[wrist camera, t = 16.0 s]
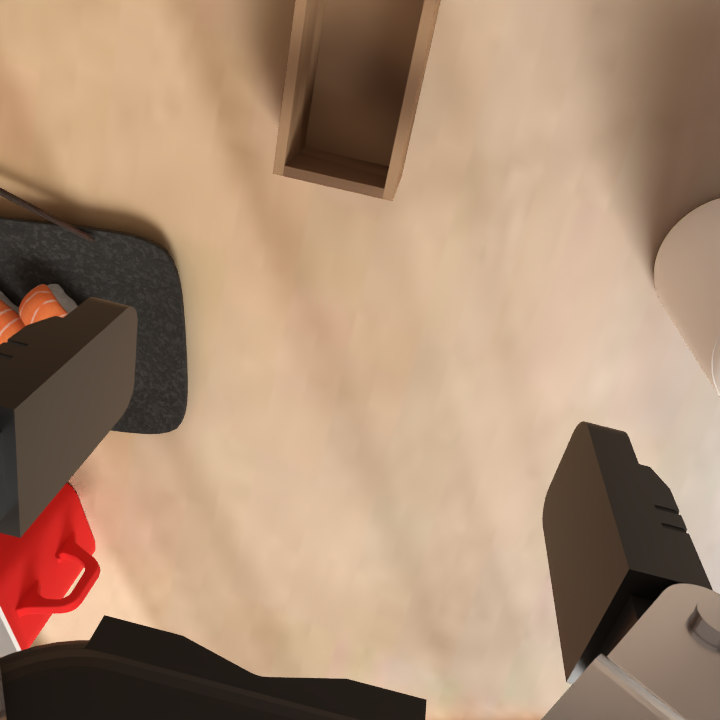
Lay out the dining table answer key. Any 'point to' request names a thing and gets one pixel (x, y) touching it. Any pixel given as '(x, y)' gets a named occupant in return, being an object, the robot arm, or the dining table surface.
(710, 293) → the pill bottle
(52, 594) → the mug
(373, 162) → the channel
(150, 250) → the sushi plate
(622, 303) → the dining table surface
